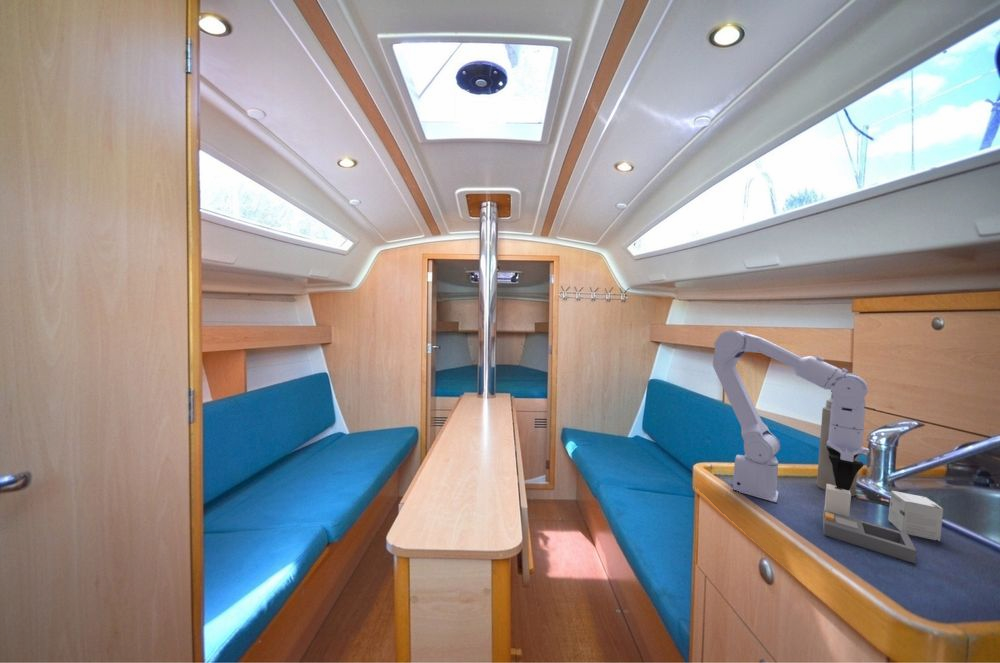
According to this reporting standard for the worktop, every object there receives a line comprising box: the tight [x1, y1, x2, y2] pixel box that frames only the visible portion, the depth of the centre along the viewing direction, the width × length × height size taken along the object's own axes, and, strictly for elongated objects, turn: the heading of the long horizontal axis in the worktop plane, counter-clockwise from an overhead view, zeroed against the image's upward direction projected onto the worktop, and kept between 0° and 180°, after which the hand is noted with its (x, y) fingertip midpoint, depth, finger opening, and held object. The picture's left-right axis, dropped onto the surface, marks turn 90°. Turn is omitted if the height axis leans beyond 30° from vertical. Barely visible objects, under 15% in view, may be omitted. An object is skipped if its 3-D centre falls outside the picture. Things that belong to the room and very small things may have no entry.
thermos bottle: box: [816, 390, 860, 497], centre depth 100 cm, size 8×8×28 cm
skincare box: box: [888, 490, 944, 542], centre depth 80 cm, size 6×6×7 cm
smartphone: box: [854, 488, 890, 508], centre depth 94 cm, size 8×15×1 cm, turn 56°
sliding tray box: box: [822, 509, 917, 564], centre depth 76 cm, size 13×8×3 cm, turn 50°
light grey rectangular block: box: [823, 483, 852, 517], centre depth 84 cm, size 4×4×7 cm
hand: (841, 483), depth 84 cm, fingers open, 7 cm apart
